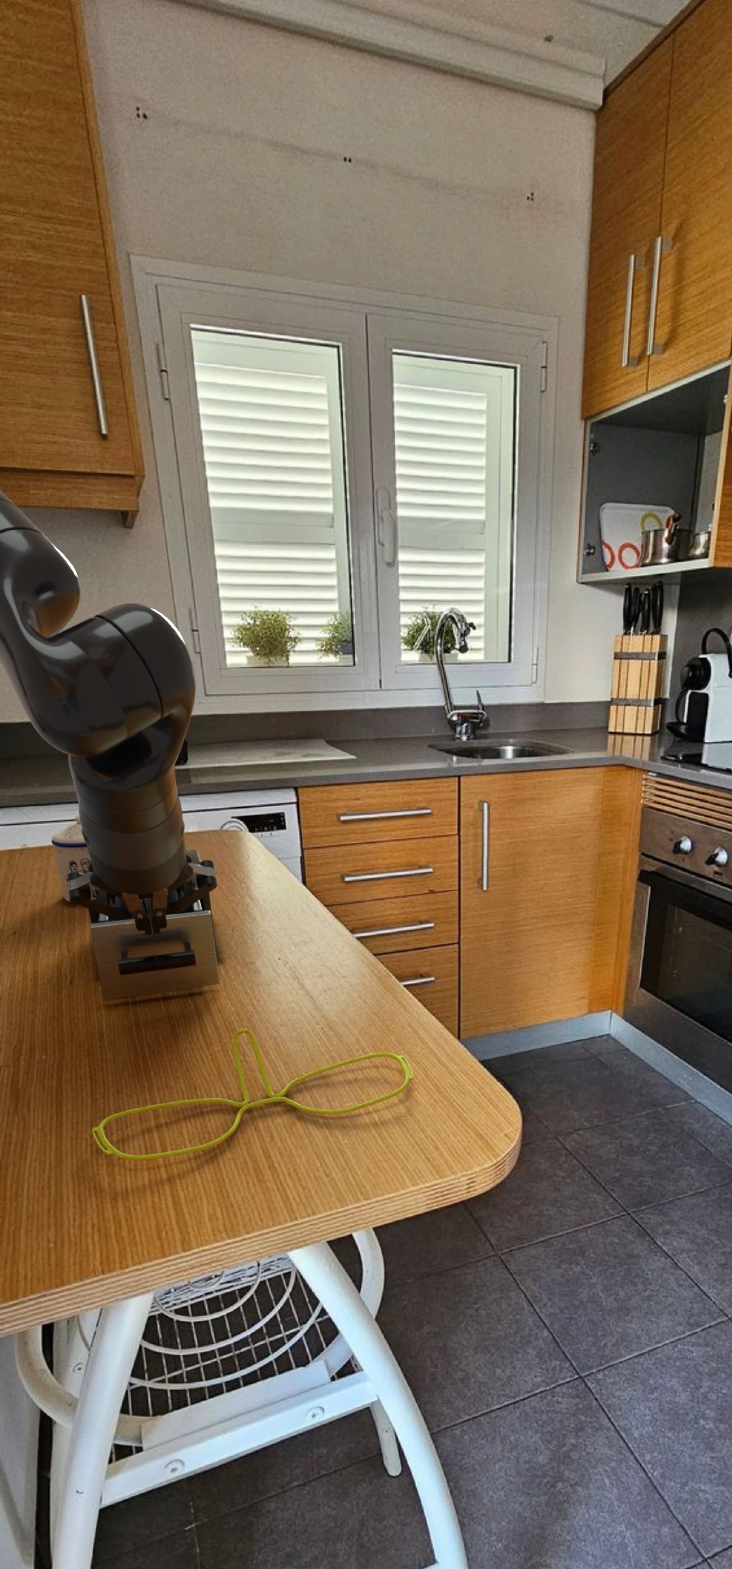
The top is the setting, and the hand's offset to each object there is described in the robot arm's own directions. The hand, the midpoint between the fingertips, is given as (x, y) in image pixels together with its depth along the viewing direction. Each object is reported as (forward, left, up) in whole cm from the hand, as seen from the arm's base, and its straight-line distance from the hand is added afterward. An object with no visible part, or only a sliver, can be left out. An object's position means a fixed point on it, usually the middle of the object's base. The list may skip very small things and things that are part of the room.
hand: (151, 925), depth 82 cm
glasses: (+17, -17, -9) cm, 26 cm away
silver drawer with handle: (-3, +5, -8) cm, 10 cm away
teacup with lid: (-27, +35, -9) cm, 45 cm away
